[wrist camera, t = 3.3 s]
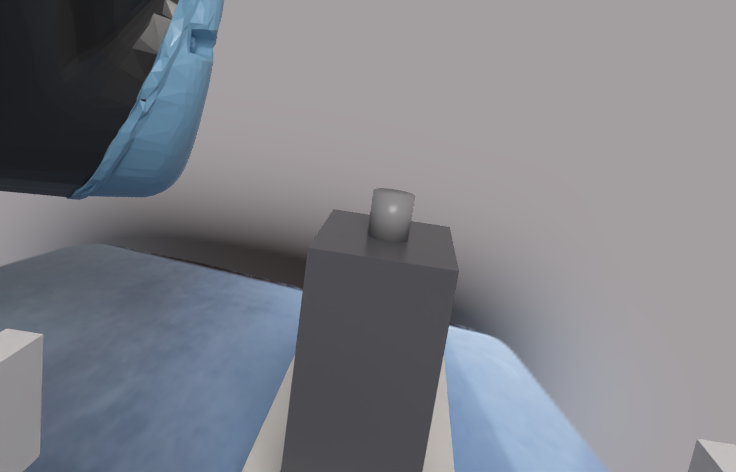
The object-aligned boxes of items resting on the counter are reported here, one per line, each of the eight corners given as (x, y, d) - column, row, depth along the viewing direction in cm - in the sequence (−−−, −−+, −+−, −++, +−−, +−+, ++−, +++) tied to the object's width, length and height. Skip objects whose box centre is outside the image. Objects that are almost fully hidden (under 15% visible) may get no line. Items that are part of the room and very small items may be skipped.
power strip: (453, 699, 19) (473, 605, 19) (186, 650, 20) (194, 556, 19) (434, 348, 45) (442, 302, 44) (317, 329, 45) (323, 283, 44)
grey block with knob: (401, 584, 22) (467, 222, 19) (269, 560, 22) (314, 198, 19) (405, 478, 28) (456, 188, 25) (300, 460, 28) (338, 170, 25)
